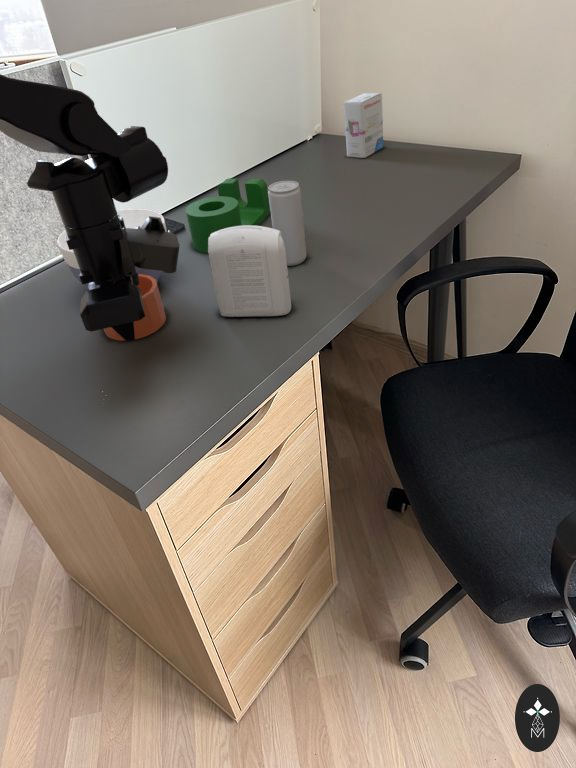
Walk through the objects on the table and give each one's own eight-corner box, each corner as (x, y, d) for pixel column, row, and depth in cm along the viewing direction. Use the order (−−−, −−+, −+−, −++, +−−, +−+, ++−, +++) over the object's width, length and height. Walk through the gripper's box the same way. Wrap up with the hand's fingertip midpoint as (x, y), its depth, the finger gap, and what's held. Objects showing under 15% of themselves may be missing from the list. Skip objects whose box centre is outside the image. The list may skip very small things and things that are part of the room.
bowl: (145, 255, 99) (130, 201, 93) (198, 280, 89) (185, 222, 83) (61, 291, 91) (39, 235, 86) (109, 324, 81) (87, 263, 76)
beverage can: (306, 265, 89) (299, 189, 82) (276, 268, 90) (266, 193, 82) (306, 252, 93) (299, 178, 86) (277, 254, 93) (268, 181, 86)
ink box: (365, 145, 136) (364, 91, 128) (384, 147, 133) (383, 92, 126) (345, 156, 131) (343, 100, 123) (364, 158, 128) (362, 101, 121)
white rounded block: (294, 301, 81) (284, 218, 73) (290, 317, 77) (279, 231, 70) (224, 304, 82) (207, 222, 75) (217, 320, 79) (199, 236, 72)
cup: (104, 346, 77) (91, 311, 73) (104, 315, 84) (92, 282, 80) (168, 331, 78) (158, 296, 75) (163, 302, 85) (154, 268, 82)
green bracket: (230, 254, 96) (224, 217, 92) (184, 251, 99) (175, 215, 95) (270, 212, 108) (266, 178, 104) (228, 211, 111) (222, 178, 108)
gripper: (174, 234, 55) (206, 364, 64) (157, 179, 69) (184, 291, 79) (57, 258, 53) (107, 388, 63) (64, 197, 68) (104, 310, 77)
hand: (130, 339), depth 71 cm, fingers closed
